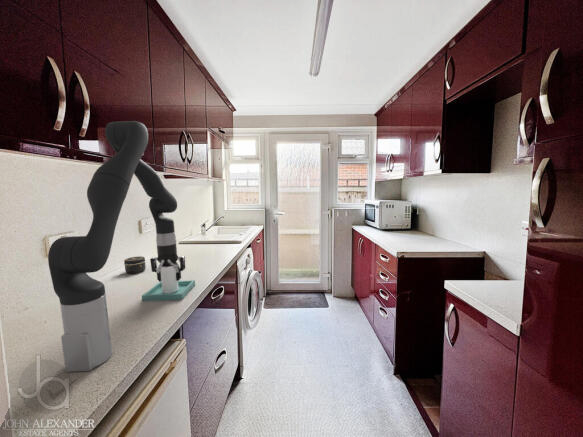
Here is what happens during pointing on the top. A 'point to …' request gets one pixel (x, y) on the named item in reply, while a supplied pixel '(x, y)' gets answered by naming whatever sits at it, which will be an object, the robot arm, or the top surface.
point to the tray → (158, 295)
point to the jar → (134, 265)
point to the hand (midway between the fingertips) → (169, 280)
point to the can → (169, 279)
